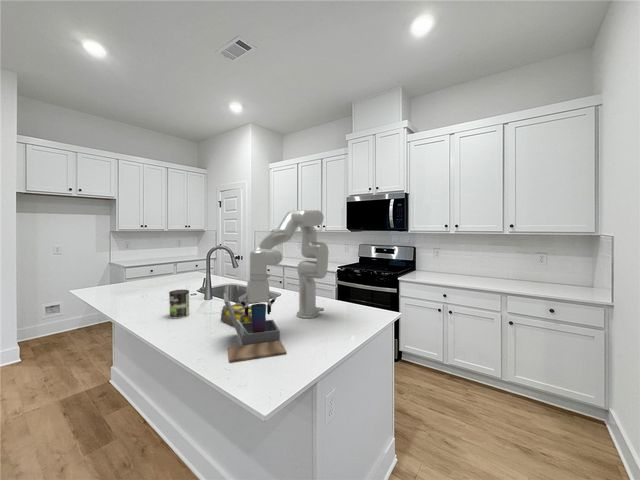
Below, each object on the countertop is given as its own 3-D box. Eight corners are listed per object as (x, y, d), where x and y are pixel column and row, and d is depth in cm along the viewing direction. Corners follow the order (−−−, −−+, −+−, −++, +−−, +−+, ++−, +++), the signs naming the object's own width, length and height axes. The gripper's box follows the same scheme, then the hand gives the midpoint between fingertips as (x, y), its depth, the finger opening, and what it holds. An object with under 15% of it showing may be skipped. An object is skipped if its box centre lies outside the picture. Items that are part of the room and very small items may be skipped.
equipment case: (272, 329, 143) (272, 305, 142) (279, 341, 128) (279, 315, 127) (234, 334, 136) (234, 309, 136) (236, 347, 121) (236, 319, 121)
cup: (252, 334, 136) (252, 303, 135) (267, 334, 136) (266, 303, 135) (250, 340, 129) (249, 307, 128) (265, 340, 129) (265, 307, 129)
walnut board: (280, 342, 127) (280, 340, 127) (286, 354, 116) (286, 351, 115) (227, 349, 119) (227, 347, 119) (229, 362, 108) (229, 360, 108)
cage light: (238, 300, 168) (271, 310, 148) (239, 313, 169) (271, 325, 149) (215, 305, 157) (247, 317, 138) (215, 319, 158) (247, 333, 138)
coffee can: (179, 319, 157) (178, 294, 156) (165, 317, 161) (164, 292, 160) (193, 314, 167) (193, 290, 166) (180, 312, 170) (180, 288, 170)
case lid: (225, 292, 134) (223, 293, 134) (227, 301, 119) (224, 302, 119) (238, 322, 137) (235, 324, 137) (241, 335, 122) (238, 336, 122)
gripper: (275, 275, 137) (275, 310, 138) (237, 276, 132) (237, 314, 132) (278, 277, 130) (278, 315, 131) (239, 279, 125) (239, 318, 125)
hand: (257, 314), depth 132 cm, fingers open, 9 cm apart
